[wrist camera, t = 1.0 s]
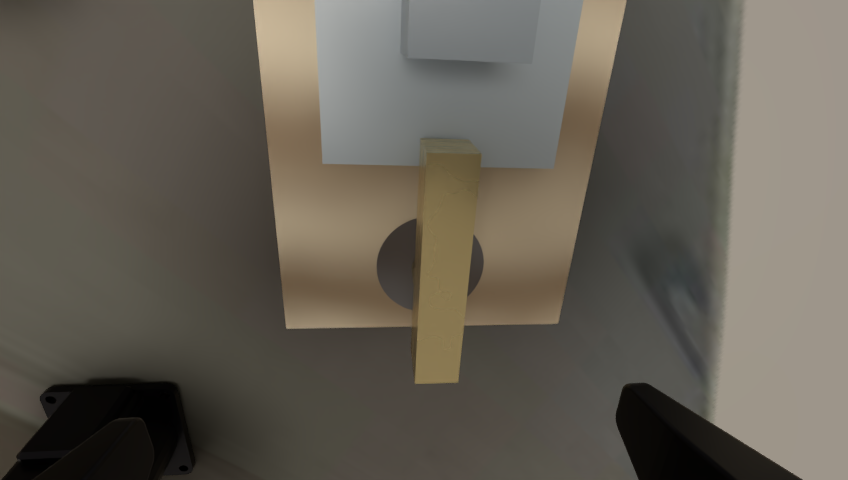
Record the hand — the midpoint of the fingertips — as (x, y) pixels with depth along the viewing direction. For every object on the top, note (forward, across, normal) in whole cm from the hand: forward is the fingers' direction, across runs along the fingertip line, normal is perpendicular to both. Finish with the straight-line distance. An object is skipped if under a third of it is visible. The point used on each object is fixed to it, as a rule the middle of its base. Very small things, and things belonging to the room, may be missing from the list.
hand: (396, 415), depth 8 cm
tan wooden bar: (+9, -2, +1) cm, 10 cm away
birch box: (+13, -2, -3) cm, 14 cm away
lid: (+10, -2, -6) cm, 12 cm away
